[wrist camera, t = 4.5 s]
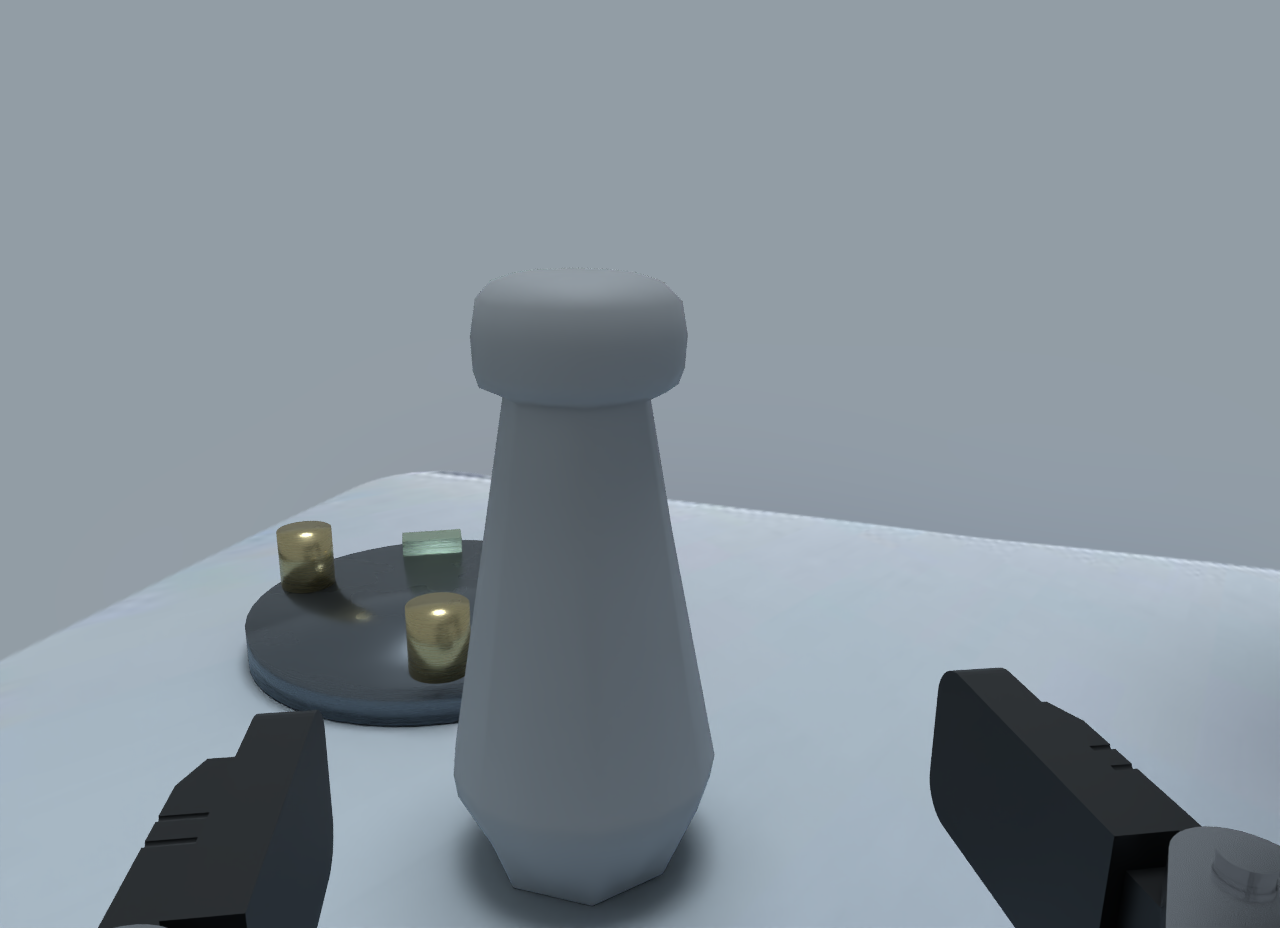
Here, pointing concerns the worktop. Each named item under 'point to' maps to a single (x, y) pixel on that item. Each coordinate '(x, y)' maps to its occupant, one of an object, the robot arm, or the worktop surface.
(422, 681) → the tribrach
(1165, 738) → the worktop surface
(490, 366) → the salt shaker
